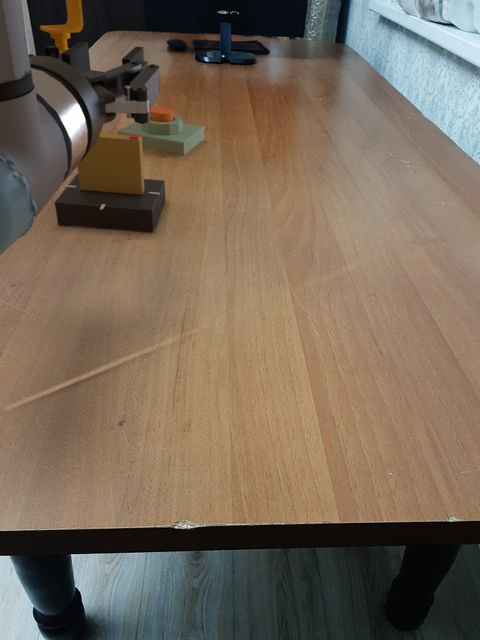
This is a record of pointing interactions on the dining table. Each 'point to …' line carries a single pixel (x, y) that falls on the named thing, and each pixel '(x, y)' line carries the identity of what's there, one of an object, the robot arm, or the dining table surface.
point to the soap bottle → (66, 25)
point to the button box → (166, 135)
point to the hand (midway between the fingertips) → (112, 59)
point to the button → (161, 114)
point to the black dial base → (111, 207)
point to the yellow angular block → (113, 165)
